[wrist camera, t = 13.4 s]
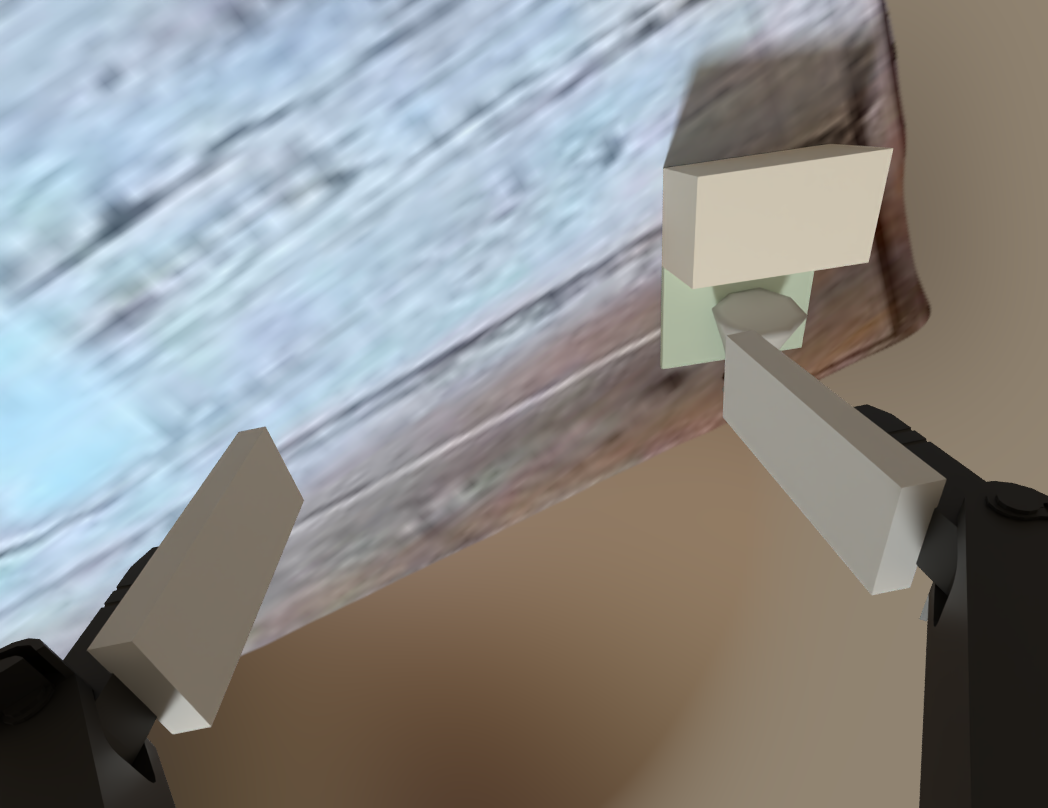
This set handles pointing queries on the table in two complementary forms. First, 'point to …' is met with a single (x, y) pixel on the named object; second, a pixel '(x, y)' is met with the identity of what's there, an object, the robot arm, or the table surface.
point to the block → (772, 213)
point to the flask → (758, 315)
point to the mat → (693, 323)
